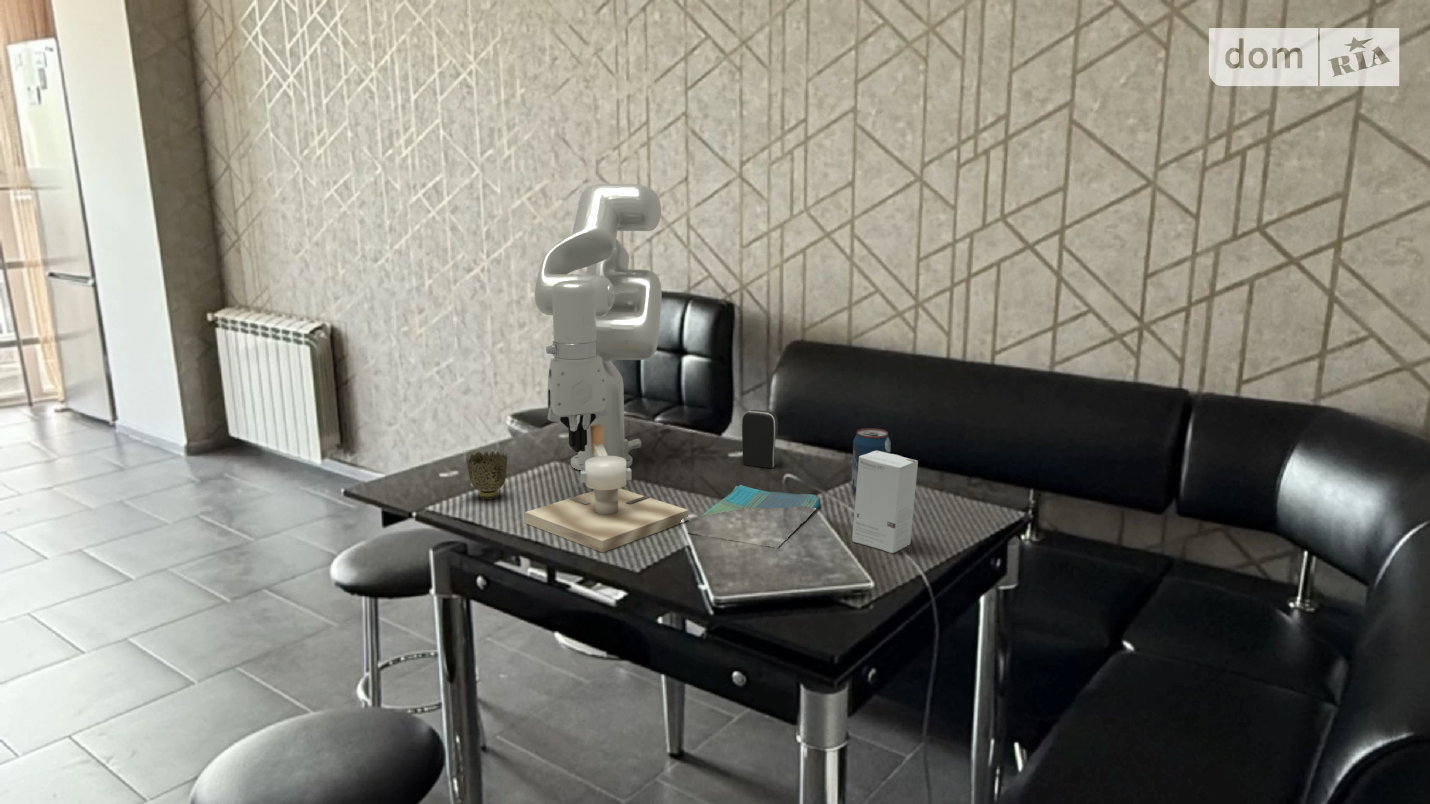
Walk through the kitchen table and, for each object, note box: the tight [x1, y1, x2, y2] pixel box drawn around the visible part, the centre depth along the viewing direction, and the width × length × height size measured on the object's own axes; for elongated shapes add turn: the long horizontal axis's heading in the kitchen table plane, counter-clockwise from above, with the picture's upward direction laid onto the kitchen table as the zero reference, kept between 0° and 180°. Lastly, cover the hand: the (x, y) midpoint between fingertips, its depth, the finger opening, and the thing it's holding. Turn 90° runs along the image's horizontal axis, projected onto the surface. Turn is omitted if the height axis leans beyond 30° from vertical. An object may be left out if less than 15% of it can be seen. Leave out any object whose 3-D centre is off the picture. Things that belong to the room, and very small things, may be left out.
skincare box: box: [851, 451, 919, 554], centre depth 170 cm, size 8×6×15 cm
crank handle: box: [579, 424, 632, 490], centre depth 184 cm, size 9×17×7 cm, turn 13°
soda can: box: [851, 427, 892, 495], centre depth 195 cm, size 7×7×12 cm
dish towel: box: [701, 484, 821, 516], centre depth 183 cm, size 17×23×2 cm
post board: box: [524, 488, 689, 553], centre depth 180 cm, size 20×20×7 cm
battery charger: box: [741, 409, 779, 469], centre depth 213 cm, size 7×4×11 cm, turn 66°
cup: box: [465, 450, 508, 500], centre depth 193 cm, size 8×7×8 cm
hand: (578, 449), depth 189 cm, fingers closed
